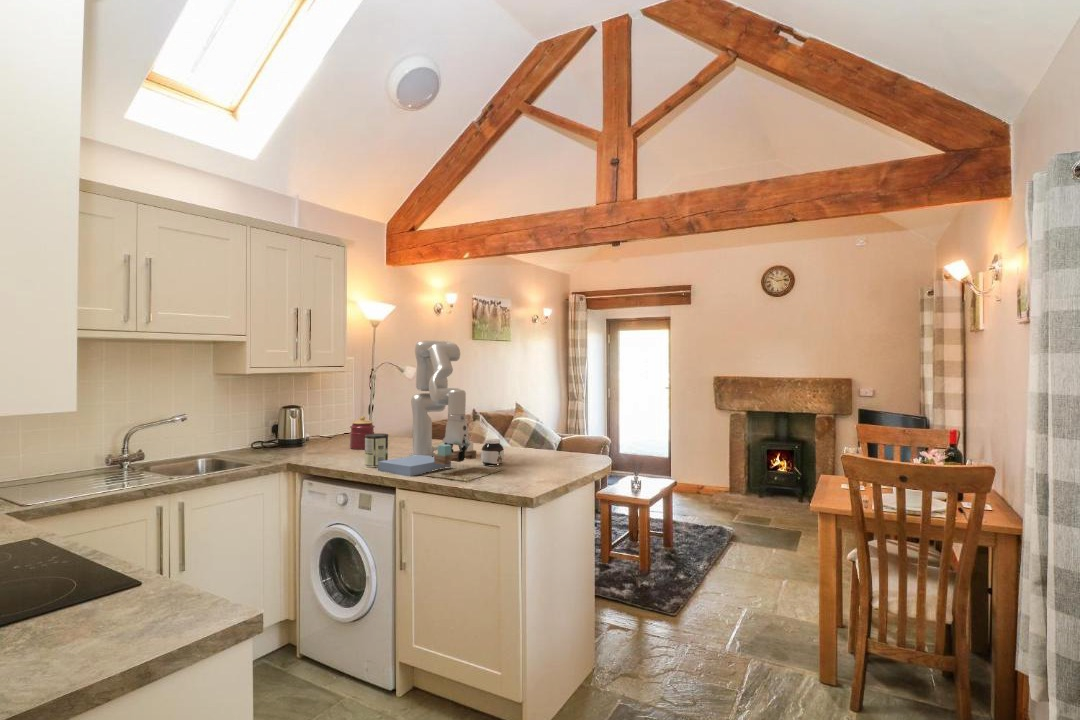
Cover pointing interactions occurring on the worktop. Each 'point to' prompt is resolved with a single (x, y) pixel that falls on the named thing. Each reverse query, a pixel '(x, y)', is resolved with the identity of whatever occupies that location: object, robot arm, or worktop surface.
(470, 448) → the cream cube
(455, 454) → the brown long wavy block
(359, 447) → the canister
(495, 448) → the spread jar
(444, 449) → the teal cube
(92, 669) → the worktop surface
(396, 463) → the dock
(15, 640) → the worktop surface
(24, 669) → the worktop surface
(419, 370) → the robot arm
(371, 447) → the coffee can
